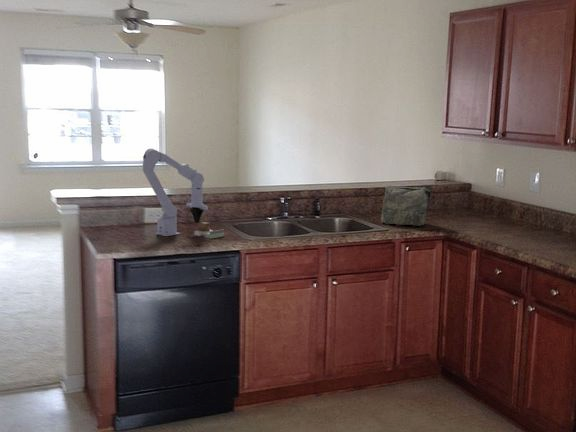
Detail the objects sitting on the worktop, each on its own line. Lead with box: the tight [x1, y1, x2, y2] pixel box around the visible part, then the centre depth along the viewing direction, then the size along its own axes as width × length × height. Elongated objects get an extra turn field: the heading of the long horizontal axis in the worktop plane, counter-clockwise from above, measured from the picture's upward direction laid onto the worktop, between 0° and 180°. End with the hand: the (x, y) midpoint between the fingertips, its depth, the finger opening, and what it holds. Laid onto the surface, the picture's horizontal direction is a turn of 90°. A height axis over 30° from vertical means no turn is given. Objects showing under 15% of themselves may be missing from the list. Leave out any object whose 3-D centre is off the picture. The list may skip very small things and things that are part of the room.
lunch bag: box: [380, 185, 431, 227], centre depth 384 cm, size 26×18×22 cm
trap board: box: [194, 228, 225, 240], centre depth 336 cm, size 9×12×4 cm
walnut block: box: [198, 221, 211, 232], centre depth 338 cm, size 4×4×4 cm
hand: (197, 222), depth 342 cm, fingers closed
